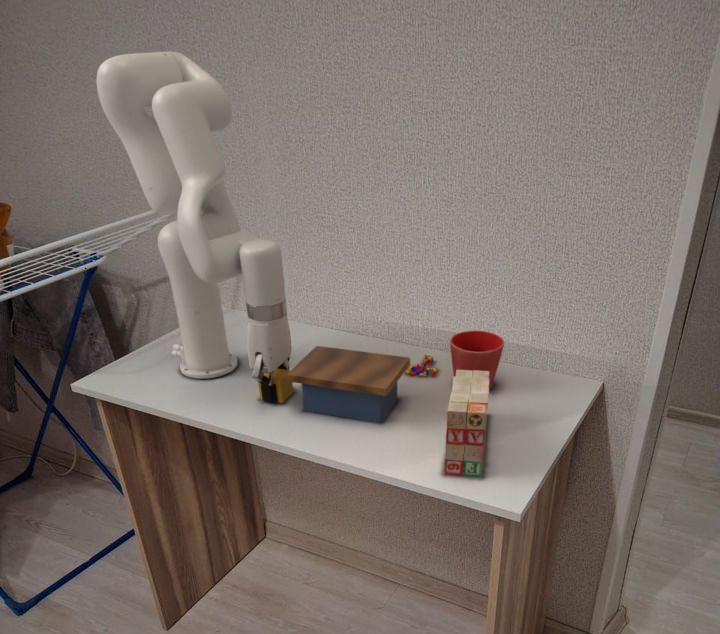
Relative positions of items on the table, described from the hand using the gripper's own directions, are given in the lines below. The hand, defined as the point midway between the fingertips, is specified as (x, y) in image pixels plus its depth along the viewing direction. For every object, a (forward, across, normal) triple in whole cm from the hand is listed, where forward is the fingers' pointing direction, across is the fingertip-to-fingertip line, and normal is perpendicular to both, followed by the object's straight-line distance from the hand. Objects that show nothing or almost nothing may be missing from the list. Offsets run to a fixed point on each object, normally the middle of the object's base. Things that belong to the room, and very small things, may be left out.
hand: (276, 394), depth 138 cm
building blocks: (+1, -21, +25) cm, 33 cm away
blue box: (0, -1, +16) cm, 16 cm away
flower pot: (+1, -17, +37) cm, 41 cm away
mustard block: (0, 0, 0) cm, 0 cm away
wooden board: (-7, -1, +16) cm, 17 cm away
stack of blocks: (+1, +6, +41) cm, 42 cm away
